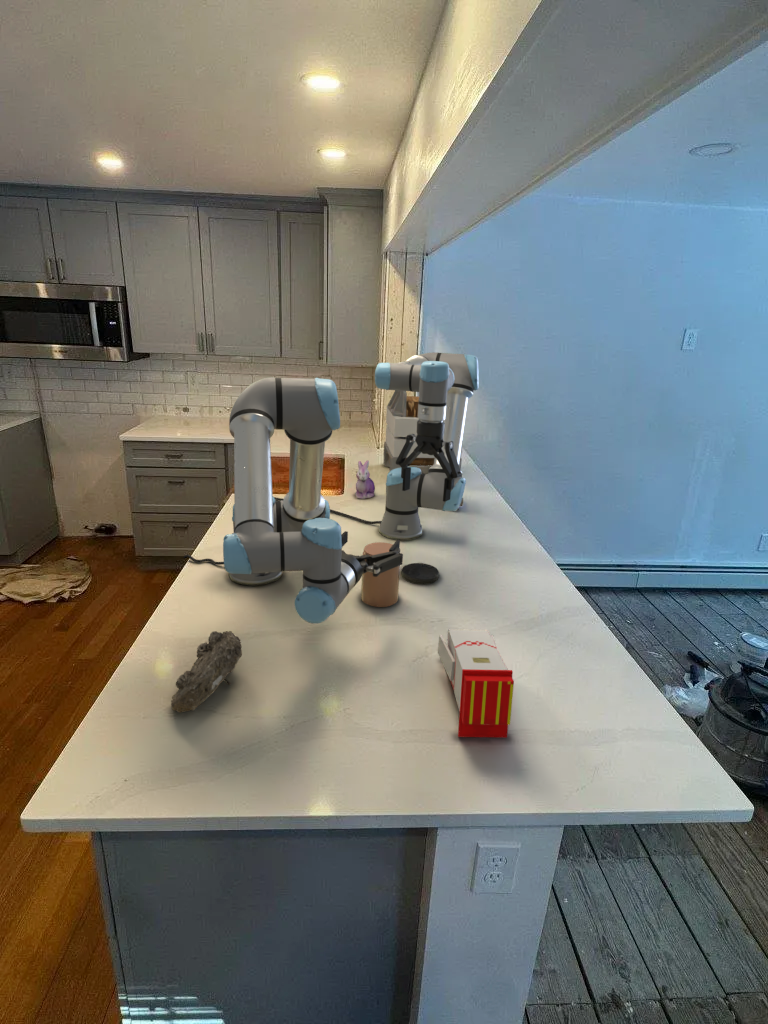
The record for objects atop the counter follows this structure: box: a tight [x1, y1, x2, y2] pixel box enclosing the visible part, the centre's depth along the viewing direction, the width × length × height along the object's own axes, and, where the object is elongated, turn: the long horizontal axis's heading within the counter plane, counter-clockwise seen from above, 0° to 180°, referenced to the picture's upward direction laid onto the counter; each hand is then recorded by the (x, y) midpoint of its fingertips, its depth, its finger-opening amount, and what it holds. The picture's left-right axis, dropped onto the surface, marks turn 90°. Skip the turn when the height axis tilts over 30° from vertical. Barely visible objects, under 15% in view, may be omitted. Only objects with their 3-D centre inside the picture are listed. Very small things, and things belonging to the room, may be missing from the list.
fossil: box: [170, 630, 243, 713], centre depth 116 cm, size 22×10×15 cm
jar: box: [360, 541, 401, 608], centre depth 153 cm, size 10×10×15 cm
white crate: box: [383, 390, 464, 472], centre depth 268 cm, size 34×33×41 cm
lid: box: [400, 562, 440, 585], centre depth 169 cm, size 11×11×2 cm
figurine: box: [354, 460, 376, 500], centre depth 236 cm, size 9×10×15 cm
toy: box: [437, 628, 515, 738], centre depth 117 cm, size 12×13×30 cm
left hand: (372, 540), depth 141 cm, fingers open, 13 cm apart
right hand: (425, 495), depth 161 cm, fingers open, 13 cm apart
